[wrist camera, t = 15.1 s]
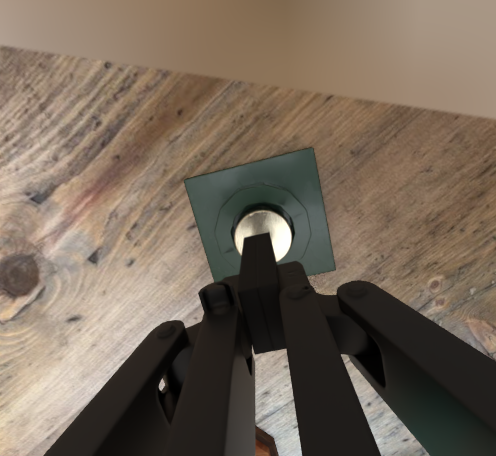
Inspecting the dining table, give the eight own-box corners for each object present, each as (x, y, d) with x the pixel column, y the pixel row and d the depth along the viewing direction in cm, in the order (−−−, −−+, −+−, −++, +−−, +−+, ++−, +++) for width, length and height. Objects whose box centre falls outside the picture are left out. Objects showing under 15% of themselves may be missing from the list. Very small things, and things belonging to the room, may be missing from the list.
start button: (283, 199, 22) (285, 204, 20) (294, 250, 23) (297, 259, 21) (229, 212, 22) (227, 218, 20) (243, 262, 23) (242, 271, 21)
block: (311, 147, 23) (318, 147, 20) (334, 267, 25) (342, 280, 23) (185, 178, 24) (177, 182, 21) (219, 291, 26) (215, 306, 24)
